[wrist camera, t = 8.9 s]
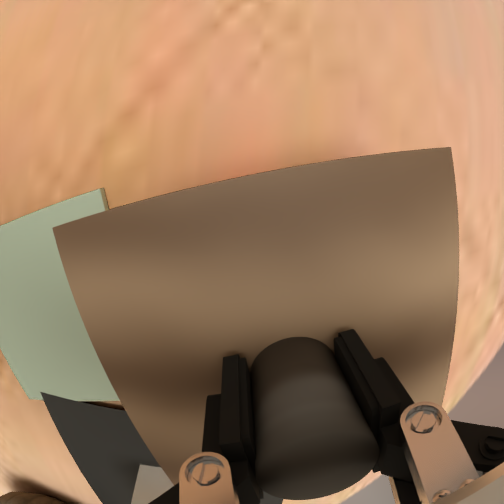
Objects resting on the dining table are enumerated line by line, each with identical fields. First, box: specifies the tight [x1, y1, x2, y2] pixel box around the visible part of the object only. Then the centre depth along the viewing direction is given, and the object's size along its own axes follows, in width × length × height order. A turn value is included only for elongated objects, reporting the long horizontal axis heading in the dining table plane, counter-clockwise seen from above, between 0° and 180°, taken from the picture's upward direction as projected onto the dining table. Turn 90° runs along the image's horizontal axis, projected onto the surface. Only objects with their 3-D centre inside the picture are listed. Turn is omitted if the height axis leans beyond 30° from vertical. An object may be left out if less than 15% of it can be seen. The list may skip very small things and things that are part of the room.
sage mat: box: [0, 188, 120, 401], centre depth 20 cm, size 16×16×1 cm
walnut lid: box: [52, 147, 459, 500], centre depth 9 cm, size 14×14×5 cm
